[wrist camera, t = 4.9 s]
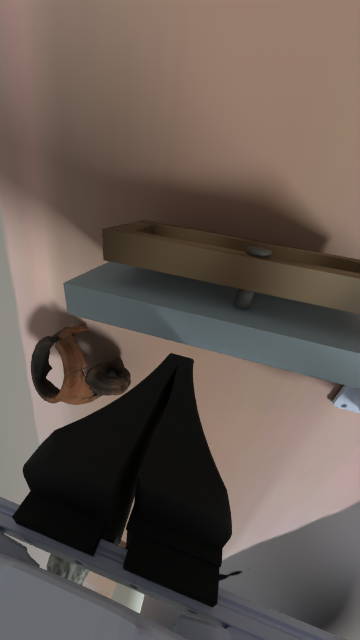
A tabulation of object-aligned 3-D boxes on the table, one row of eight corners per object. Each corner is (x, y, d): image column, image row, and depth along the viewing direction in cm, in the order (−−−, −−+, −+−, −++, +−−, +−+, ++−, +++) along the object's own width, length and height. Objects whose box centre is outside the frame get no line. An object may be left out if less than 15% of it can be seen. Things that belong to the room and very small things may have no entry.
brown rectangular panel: (374, 257, 14) (455, 289, 9) (348, 301, 16) (404, 349, 11) (144, 215, 16) (102, 222, 11) (142, 258, 18) (104, 282, 12)
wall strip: (364, 291, 17) (476, 370, 9) (333, 341, 20) (400, 437, 12) (133, 245, 20) (62, 274, 12) (132, 294, 22) (72, 346, 14)
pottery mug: (86, 383, 32) (25, 403, 25) (88, 321, 32) (26, 323, 25) (149, 404, 26) (92, 437, 19) (153, 328, 26) (96, 333, 19)
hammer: (65, 502, 67) (75, 490, 48) (97, 508, 70) (119, 499, 50) (37, 575, 57) (36, 596, 37) (76, 579, 59) (94, 602, 40)
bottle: (123, 544, 64) (56, 747, 40) (147, 550, 61) (90, 771, 38) (133, 555, 67) (76, 750, 43) (156, 561, 65) (109, 772, 41)
